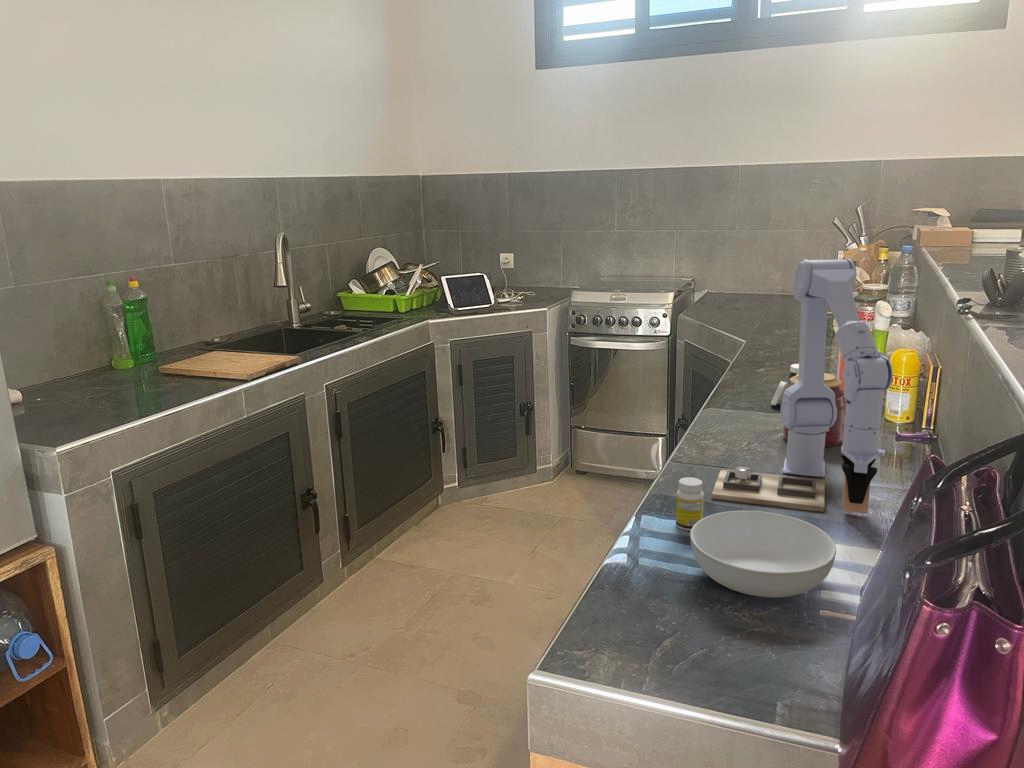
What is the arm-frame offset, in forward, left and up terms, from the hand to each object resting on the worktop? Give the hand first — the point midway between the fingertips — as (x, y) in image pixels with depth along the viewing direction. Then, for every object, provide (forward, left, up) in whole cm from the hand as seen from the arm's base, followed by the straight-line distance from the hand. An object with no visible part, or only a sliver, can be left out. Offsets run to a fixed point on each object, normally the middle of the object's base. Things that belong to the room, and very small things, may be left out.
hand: (855, 497), depth 140 cm
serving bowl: (+30, -14, -4) cm, 33 cm away
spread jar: (-71, -13, -4) cm, 72 cm away
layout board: (-7, -15, -3) cm, 17 cm away
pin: (-7, -20, -3) cm, 21 cm away
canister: (-44, -8, -4) cm, 45 cm away
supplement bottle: (+14, -27, -4) cm, 31 cm away
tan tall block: (0, 0, -2) cm, 2 cm away
